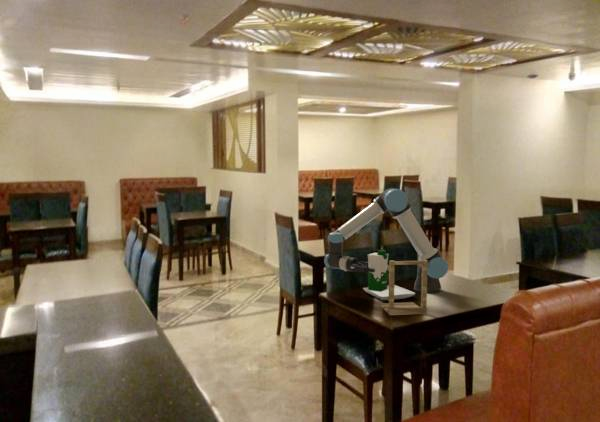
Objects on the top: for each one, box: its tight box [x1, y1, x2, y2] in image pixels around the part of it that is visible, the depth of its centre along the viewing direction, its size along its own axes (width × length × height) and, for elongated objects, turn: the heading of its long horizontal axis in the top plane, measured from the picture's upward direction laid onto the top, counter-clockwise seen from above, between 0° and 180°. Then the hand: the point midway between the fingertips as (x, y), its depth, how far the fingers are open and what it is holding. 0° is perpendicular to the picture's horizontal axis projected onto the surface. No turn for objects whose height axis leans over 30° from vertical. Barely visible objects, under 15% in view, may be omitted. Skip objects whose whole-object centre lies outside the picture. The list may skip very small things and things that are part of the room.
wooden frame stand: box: [379, 259, 428, 316], centre depth 235 cm, size 18×18×26 cm
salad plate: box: [362, 284, 416, 301], centre depth 261 cm, size 21×21×3 cm
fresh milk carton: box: [367, 249, 389, 292], centre depth 241 cm, size 9×9×20 cm
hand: (385, 270), depth 237 cm, fingers closed on fresh milk carton, 8 cm apart
